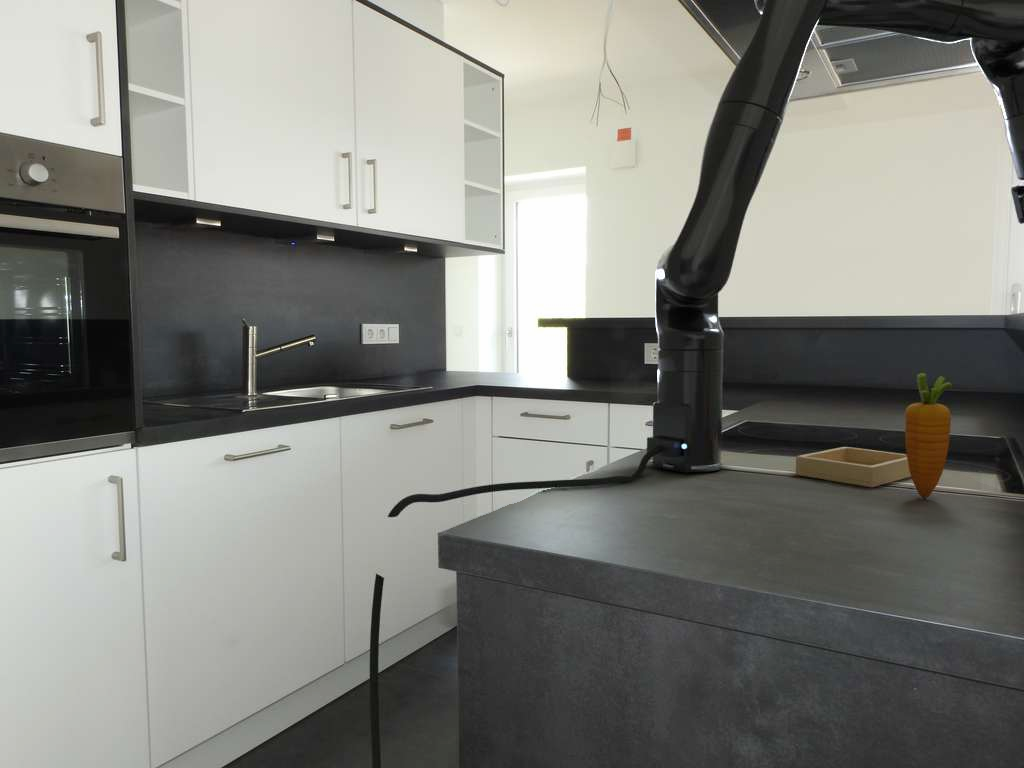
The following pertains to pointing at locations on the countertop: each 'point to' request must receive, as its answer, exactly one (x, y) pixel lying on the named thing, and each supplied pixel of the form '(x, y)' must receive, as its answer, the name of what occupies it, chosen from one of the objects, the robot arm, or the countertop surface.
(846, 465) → the tray
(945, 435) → the carrot
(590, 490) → the countertop surface
